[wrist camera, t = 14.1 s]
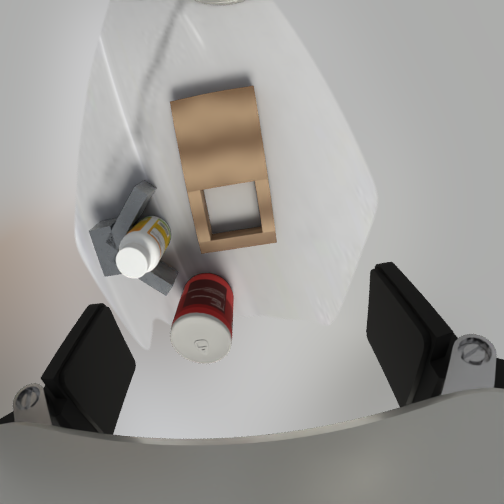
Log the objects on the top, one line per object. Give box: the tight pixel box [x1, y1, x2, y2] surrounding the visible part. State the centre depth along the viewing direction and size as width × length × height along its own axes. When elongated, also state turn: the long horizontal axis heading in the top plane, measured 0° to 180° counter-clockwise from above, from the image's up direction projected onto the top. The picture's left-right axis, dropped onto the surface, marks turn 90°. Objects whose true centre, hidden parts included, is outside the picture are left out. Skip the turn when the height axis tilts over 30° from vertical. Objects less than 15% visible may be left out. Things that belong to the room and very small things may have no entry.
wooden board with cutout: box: [170, 86, 277, 254], centre depth 36 cm, size 20×10×2 cm, turn 9°
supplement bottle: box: [116, 216, 171, 278], centre depth 36 cm, size 5×5×10 cm
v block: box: [89, 180, 178, 295], centre depth 39 cm, size 10×16×4 cm, turn 9°
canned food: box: [170, 273, 234, 364], centre depth 40 cm, size 8×8×11 cm
